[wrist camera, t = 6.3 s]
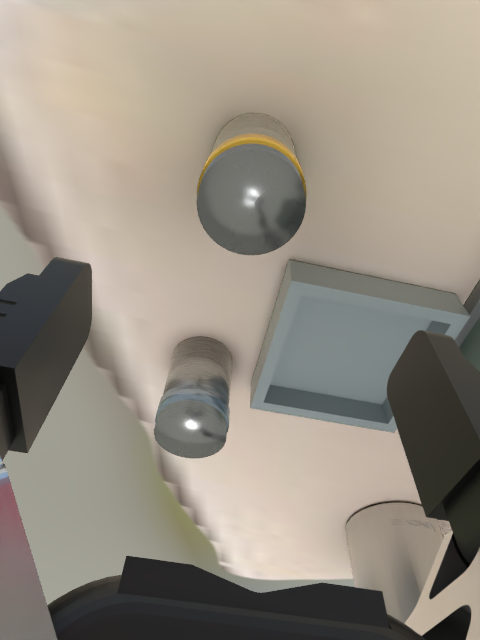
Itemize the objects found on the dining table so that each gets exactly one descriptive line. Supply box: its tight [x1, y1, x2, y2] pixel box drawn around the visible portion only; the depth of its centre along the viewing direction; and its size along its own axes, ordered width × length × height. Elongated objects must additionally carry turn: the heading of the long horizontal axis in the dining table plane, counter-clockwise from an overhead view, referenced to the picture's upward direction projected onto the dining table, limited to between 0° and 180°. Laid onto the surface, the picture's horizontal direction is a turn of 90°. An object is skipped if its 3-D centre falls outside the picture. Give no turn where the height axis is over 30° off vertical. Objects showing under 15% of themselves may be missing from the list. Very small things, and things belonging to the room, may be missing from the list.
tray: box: [250, 260, 470, 433], centre depth 29 cm, size 11×11×2 cm
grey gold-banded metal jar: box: [197, 113, 306, 255], centre depth 20 cm, size 5×5×7 cm
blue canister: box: [154, 337, 232, 458], centre depth 29 cm, size 5×5×7 cm
